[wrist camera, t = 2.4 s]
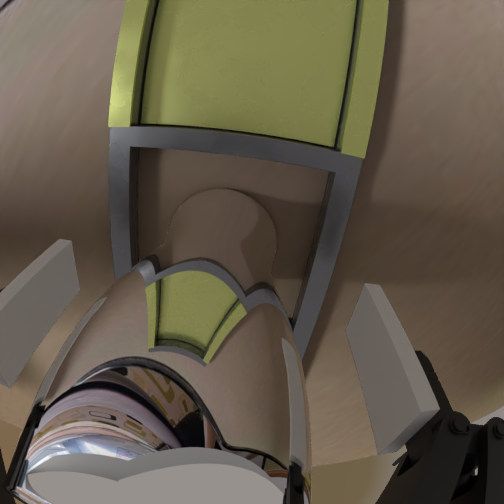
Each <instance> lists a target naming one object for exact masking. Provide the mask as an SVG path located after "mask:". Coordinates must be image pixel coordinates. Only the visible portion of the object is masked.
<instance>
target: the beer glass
mask: <svg viewBox="0 0 504 504" xmlns="http://www.w3.org/2000/svg"><path fill="white" fill-rule="evenodd" d="M276 250H277V234H276V230H275V227H274V224H273V222H272V220H271V218H270V216H269V214H268V213H267V211H266V210H265V209H264V208H263V207H262V206H261V205H260V204H259V203H258V202H257V201H256V200H254V199H253V198H251V197H250V196H248V195H246V194H243V193H241V192H238V191H235V190H230V189H210V190H206V191H202V192H199V193H197V194H195V195H193V196H191V197H190V198H188V199H187V200H185V201H184V202H183V203H182V204H181V205H180V206H179V207H178V209H177V210H176V211H175V213H174V215H173V217H172V219H171V221H170V225H169V228H168V233H167V237H166V239H165V241H164V242H163V243H162V244H161V245H160V246H159V247H158V248H156V249H155V250H154V251H153V252H151V253H150V254H149V255H148V256H146V257H145V258H144V259H142V260H141V261H140V262H139V263H137V264H136V265H135V266H134V267H133V268H131V269H130V270H129V271H128V272H127V273H125V274H124V275H123V276H122V277H121V278H119V279H118V280H117V281H116V282H115V283H114V284H113V285H112V286H111V287H110V288H109V289H108V290H107V291H106V292H105V293H104V294H103V295H102V296H101V297H100V298H99V299H98V300H97V301H96V302H95V303H94V304H93V305H92V306H91V307H90V309H89V310H88V311H87V313H86V314H85V315H84V317H83V318H82V319H81V320H80V322H79V323H78V325H77V326H76V327H75V329H74V330H73V331H72V333H71V334H70V335H69V337H68V338H67V340H66V341H65V343H64V344H63V346H62V348H61V349H60V351H59V353H58V354H57V356H56V358H55V360H54V361H53V363H52V365H51V367H50V368H49V370H48V372H47V374H46V376H45V378H44V379H43V382H42V384H41V386H40V388H39V390H38V392H37V395H36V397H35V399H34V401H33V404H32V406H31V408H30V411H29V413H28V415H27V418H26V420H25V423H24V426H23V429H22V431H21V434H20V437H19V440H18V443H17V446H16V449H15V452H14V455H13V458H12V461H11V464H10V468H9V470H8V473H7V476H6V478H5V480H4V482H3V483H2V487H3V489H4V490H5V491H7V492H8V493H9V494H11V495H12V496H13V497H15V498H16V499H18V500H19V501H21V502H22V503H24V504H311V489H312V487H311V485H312V447H311V429H310V414H309V404H308V398H307V391H306V385H305V379H304V372H303V366H302V362H301V359H300V355H299V352H298V348H297V345H296V341H295V338H294V334H293V331H292V328H291V325H290V322H289V320H288V317H287V314H286V312H285V309H284V306H283V304H282V301H281V298H280V296H279V294H278V291H277V289H276V286H275V284H274V281H273V278H272V274H271V267H272V264H273V261H274V258H275V254H276Z"/></svg>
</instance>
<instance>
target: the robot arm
mask: <svg viewBox="0 0 504 504" xmlns="http://www.w3.org/2000/svg"><path fill="white" fill-rule="evenodd" d="M79 292H80V286H79V281H78V276H77V270H76V265H75V259H74V252H73V245H72V241H70V240H64V239H59V240H57V241H56V242H55V243H54V244H53V245H52V246H50V247H49V248H48V249H47V250H46V251H44V252H43V253H42V254H41V255H40V256H39V257H38V258H36V259H35V260H34V261H33V262H32V263H31V264H30V265H29V266H28V267H26V268H25V269H24V270H23V271H22V272H21V273H20V274H19V275H18V276H17V277H16V278H15V279H14V280H13V281H12V282H11V283H10V284H9V285H8V286H6V287H5V288H3V289H1V290H0V383H1V384H3V385H5V386H7V387H9V388H10V389H11V387H12V386H13V384H14V383H15V381H16V379H17V378H18V376H19V375H20V373H21V372H22V370H23V368H24V367H25V365H26V364H27V362H28V361H29V359H30V358H31V356H32V355H33V353H34V352H35V350H36V349H37V348H38V346H39V345H40V343H41V342H42V340H43V339H44V338H45V336H46V335H47V333H48V332H49V331H50V329H51V328H52V327H53V325H54V324H55V323H56V321H57V320H58V319H59V317H60V316H61V315H62V313H63V312H64V311H65V309H66V308H67V307H68V305H69V304H70V303H71V302H72V300H73V299H74V298H75V297H76V295H77V294H78V293H79ZM345 331H346V335H347V338H348V341H349V345H350V348H351V351H352V355H353V358H354V362H355V365H356V369H357V372H358V376H359V379H360V383H361V387H362V390H363V394H364V398H365V402H366V406H367V410H368V414H369V418H370V422H371V426H372V430H373V434H374V439H375V443H376V447H377V452H378V455H379V454H386V453H393V452H397V451H398V450H399V449H400V448H401V447H402V446H404V445H406V448H407V452H405V453H404V454H403V455H402V456H401V457H400V458H398V459H397V460H396V461H395V462H394V463H393V464H392V465H393V466H395V465H396V464H398V463H399V464H398V466H397V468H396V470H395V472H394V473H393V475H392V477H391V479H390V481H389V482H388V484H387V486H386V487H385V489H384V491H383V493H382V494H381V495H380V497H379V499H378V500H377V502H376V503H375V504H504V420H503V419H501V418H499V417H493V418H492V419H490V420H489V421H488V422H487V423H486V424H485V425H476V424H470V421H469V420H468V419H467V417H466V416H464V415H463V414H462V413H459V412H456V411H453V410H452V408H451V406H450V403H449V401H448V399H447V397H446V394H445V392H444V390H443V388H442V386H441V383H440V381H438V377H437V375H436V373H435V372H434V369H433V367H432V365H431V363H430V361H429V359H428V358H427V357H426V356H425V355H424V354H423V353H422V352H421V351H414V349H413V347H412V345H411V343H410V341H409V339H408V337H407V335H406V333H405V331H404V329H403V327H402V325H401V323H400V321H399V319H398V317H397V316H396V314H395V312H394V310H393V308H392V306H391V304H390V302H389V301H388V299H387V297H386V295H385V293H384V291H383V290H382V288H381V286H380V285H376V284H368V283H365V284H364V286H363V289H362V291H361V294H360V297H359V299H358V302H357V304H356V307H355V309H354V311H353V314H352V316H351V319H350V321H349V323H348V326H347V328H346V330H345ZM476 468H478V474H477V475H476V476H475V469H476ZM6 476H7V474H6V470H5V466H4V462H3V458H2V453H1V449H0V504H16V503H15V500H14V497H13V496H12V495H11V494H9V493H8V492H7V491H5V490H4V489H3V487H2V483H3V482H4V480H5V478H6Z"/></svg>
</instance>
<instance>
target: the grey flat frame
mask: <svg viewBox="0 0 504 504" xmlns="http://www.w3.org/2000/svg"><path fill="white" fill-rule="evenodd" d="M356 1H357V10H356ZM158 3H159V4H158ZM388 5H389V0H127V1H126V5H125V9H124V14H123V18H122V23H121V28H120V33H119V39H118V45H117V51H116V57H115V64H114V71H113V79H112V88H111V98H110V109H109V124H108V127H110V140H109V209H110V229H111V243H112V255H113V265H114V274H115V282H116V281H117V280H118V279H119V278H121V277H122V276H123V275H124V274H125V273H127V272H128V271H129V270H130V269H131V268H133V267H134V266H135V265H136V264H137V263H139V255H138V223H137V186H138V155H139V147H151V148H166V149H178V150H190V151H200V152H210V153H219V154H227V155H235V156H243V157H250V158H257V159H264V160H270V161H276V162H282V163H288V164H294V165H300V166H305V167H311V168H316V169H321V170H326V171H329V176H328V181H327V185H326V190H325V194H324V199H323V203H322V207H321V211H320V216H319V220H318V224H317V228H316V232H315V236H314V240H313V244H312V248H311V252H310V256H309V260H308V264H307V267H306V271H305V275H304V279H303V282H302V286H301V290H300V293H299V297H298V300H297V304H296V307H295V311H294V314H293V318H292V321H289V322H290V325H291V328H292V331H293V334H294V338H295V341H296V345H297V348H298V352H299V355H300V359H301V361H302V359H303V356H304V354H305V351H306V348H307V346H308V343H309V340H310V338H311V335H312V332H313V329H314V326H315V324H316V321H317V318H318V315H319V312H320V309H321V306H322V303H323V300H324V297H325V294H326V291H327V288H328V285H329V282H330V279H331V276H332V273H333V270H334V266H335V263H336V260H337V256H338V253H339V250H340V246H341V243H342V239H343V236H344V232H345V229H346V225H347V222H348V218H349V214H350V210H351V207H352V203H353V199H354V195H355V191H356V187H357V183H358V179H359V175H360V170H361V166H362V162H363V158H364V159H365V155H366V150H367V146H368V141H369V136H370V131H371V126H372V121H373V116H374V110H375V105H376V99H377V93H378V87H379V81H380V75H381V68H382V61H383V53H384V45H385V36H386V27H387V17H388ZM157 7H158V9H157ZM355 10H356V18H355ZM156 12H157V13H156ZM155 17H156V18H155ZM354 19H355V26H354ZM154 22H155V23H154ZM153 27H154V28H153ZM353 27H354V34H353ZM152 32H153V34H152ZM352 35H353V42H352ZM151 37H152V39H151ZM351 42H352V49H351ZM150 43H151V45H150ZM149 49H150V51H149ZM350 49H351V56H350ZM148 55H149V57H148ZM349 56H350V63H349ZM147 62H148V64H147ZM348 63H349V69H348ZM146 69H147V71H146ZM347 69H348V76H347ZM145 76H146V79H145ZM346 76H347V82H346ZM345 82H346V88H345ZM144 84H145V87H144ZM344 88H345V94H344ZM143 93H144V95H143ZM343 94H344V100H343ZM342 100H343V105H342ZM142 102H143V105H142ZM341 105H342V111H341ZM340 111H341V116H340ZM141 112H142V116H141ZM339 117H340V122H339ZM338 122H339V127H338ZM141 123H148V124H170V125H186V126H198V127H209V128H219V129H228V130H237V131H244V132H252V133H259V134H266V135H272V136H278V137H284V138H290V139H296V140H301V141H306V142H311V143H316V144H321V145H326V146H331V147H334V143H335V147H334V149H332V148H328V147H323V146H318V145H313V144H308V143H303V142H297V141H292V140H286V139H280V138H274V137H268V136H261V135H254V134H247V133H239V132H231V131H222V130H213V129H202V128H191V127H177V126H159V125H140V124H141ZM337 127H338V132H337ZM336 132H337V137H336ZM335 138H336V142H335Z"/></svg>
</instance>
